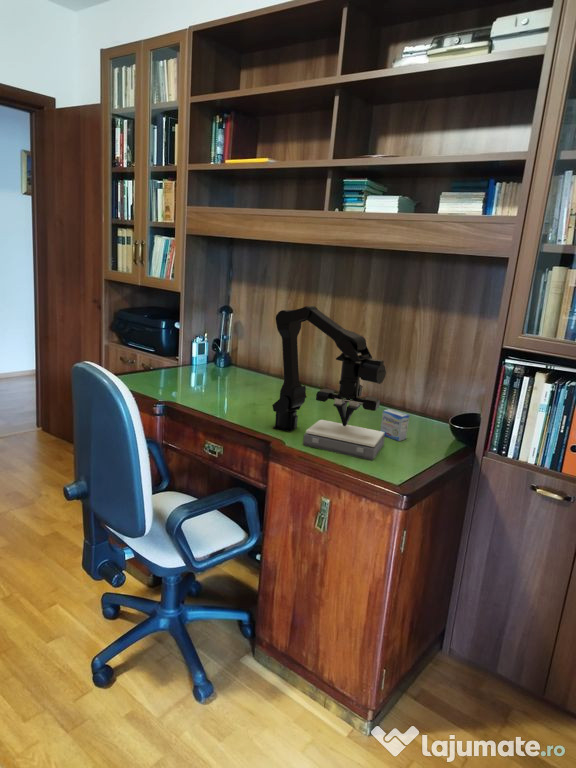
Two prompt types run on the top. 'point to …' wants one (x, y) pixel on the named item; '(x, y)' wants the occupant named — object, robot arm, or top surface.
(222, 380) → the top surface
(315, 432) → the tray lid
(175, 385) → the top surface
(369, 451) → the cable tray
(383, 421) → the medicine box
